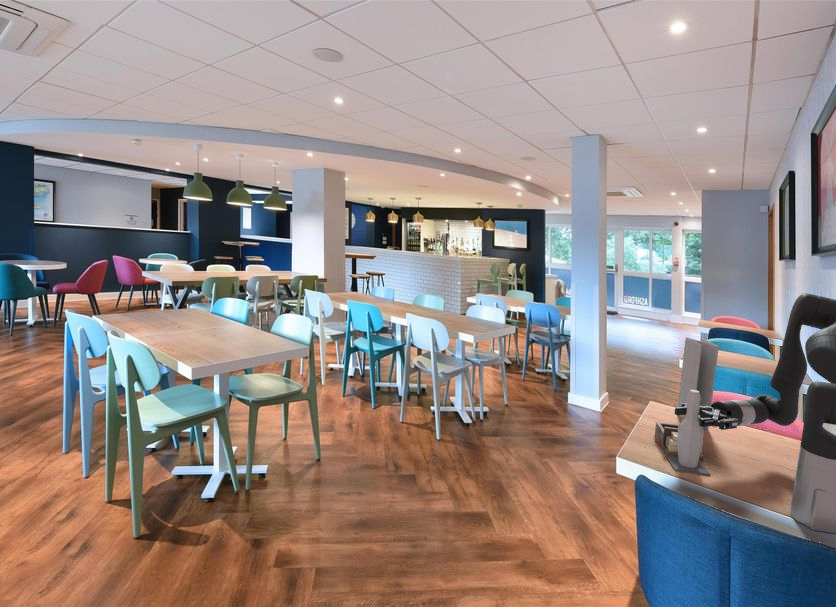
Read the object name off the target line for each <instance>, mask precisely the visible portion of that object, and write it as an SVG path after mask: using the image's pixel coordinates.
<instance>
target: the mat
mask: <svg viewBox="0 0 836 607" xmlns="http://www.w3.org/2000/svg"><path fill="white" fill-rule="evenodd" d="M665 458H666V459H667V461H668V463H669V464H670V466H671V468H673V470H674V472H681V473H688V474H696V475H700V476H701V475H702V476H710V477H711V473H710V472H709V470H708V469H707V468H706V467H705V465H704V463H702V461H700V460H698V464H697V466H696V467H695V468H691V467H686V466H683V465H681V464H680V463H679V461H678V457H677V456H669V455H666V454H665Z"/></svg>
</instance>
